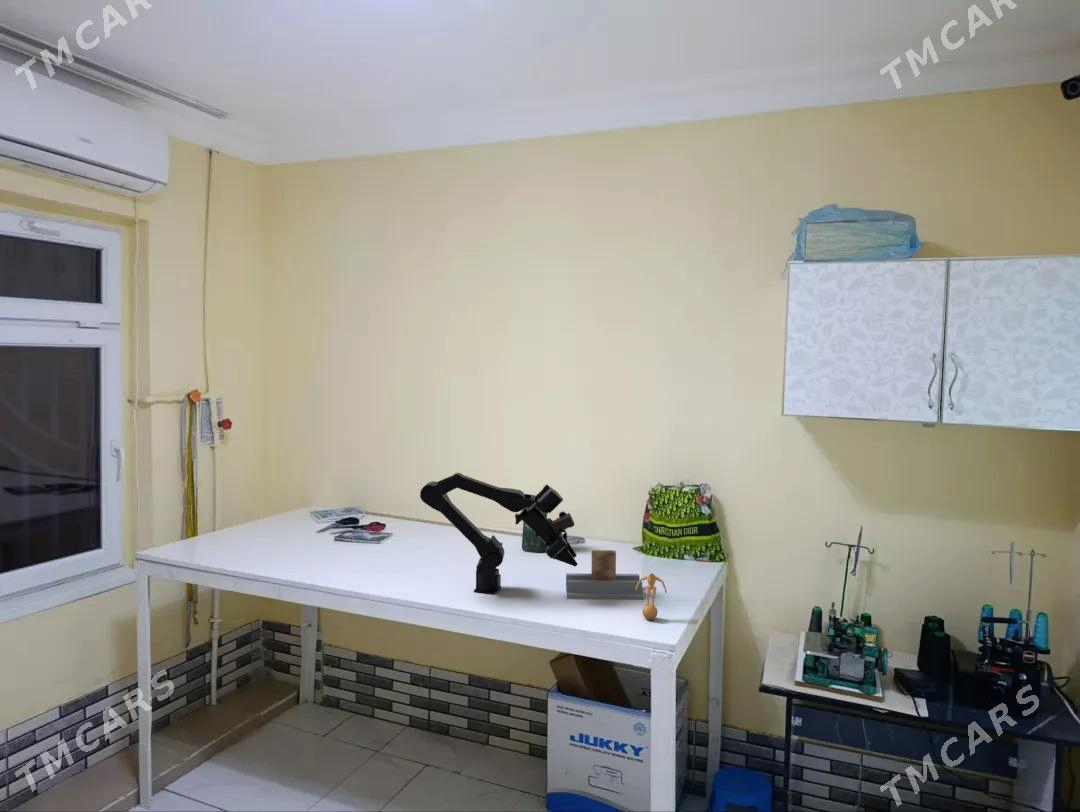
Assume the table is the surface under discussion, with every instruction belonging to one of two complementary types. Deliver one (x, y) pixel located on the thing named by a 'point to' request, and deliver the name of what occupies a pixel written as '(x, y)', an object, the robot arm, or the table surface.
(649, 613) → the figurine
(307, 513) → the table surface
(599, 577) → the plaque
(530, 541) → the coffee jar
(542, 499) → the robot arm
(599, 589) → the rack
